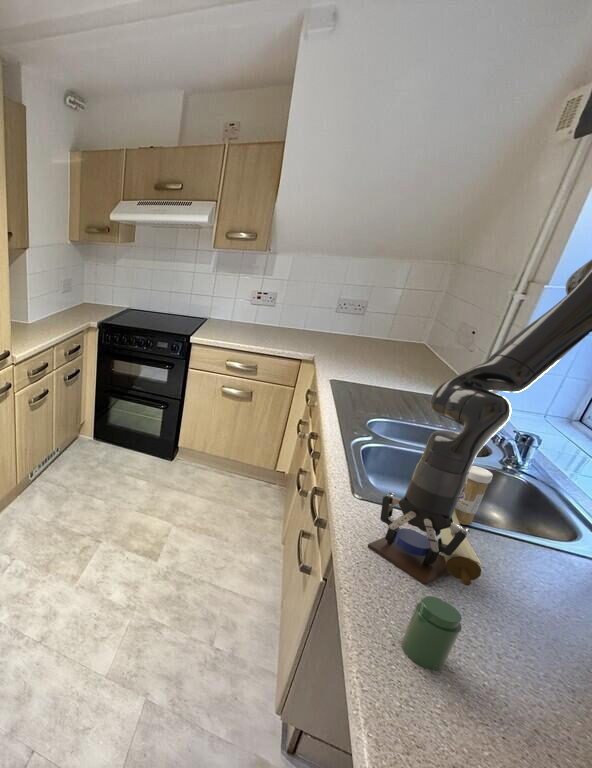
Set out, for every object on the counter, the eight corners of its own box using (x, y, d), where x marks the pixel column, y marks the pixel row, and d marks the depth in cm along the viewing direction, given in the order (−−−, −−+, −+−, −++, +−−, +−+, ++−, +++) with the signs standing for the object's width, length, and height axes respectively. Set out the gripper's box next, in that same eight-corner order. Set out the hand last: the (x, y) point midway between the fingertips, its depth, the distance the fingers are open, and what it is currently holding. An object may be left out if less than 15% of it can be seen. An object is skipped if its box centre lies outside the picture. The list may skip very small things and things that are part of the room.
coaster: (399, 533, 92) (400, 530, 92) (457, 568, 83) (458, 565, 82) (367, 546, 88) (368, 543, 88) (424, 585, 78) (426, 582, 78)
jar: (412, 632, 69) (430, 589, 66) (450, 661, 64) (472, 616, 61) (393, 645, 67) (411, 601, 63) (432, 676, 62) (453, 630, 59)
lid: (388, 541, 85) (391, 534, 85) (400, 531, 88) (403, 524, 88) (422, 560, 81) (425, 552, 80) (433, 548, 84) (437, 541, 83)
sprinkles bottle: (441, 514, 98) (461, 466, 94) (455, 512, 100) (475, 463, 95) (462, 527, 94) (483, 477, 90) (477, 524, 95) (499, 474, 91)
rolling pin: (417, 497, 103) (423, 480, 102) (445, 505, 101) (452, 488, 99) (444, 586, 77) (453, 565, 75) (483, 599, 75) (494, 578, 73)
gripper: (385, 471, 83) (362, 538, 89) (478, 511, 72) (444, 584, 78) (401, 461, 87) (377, 525, 93) (491, 497, 76) (458, 568, 82)
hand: (408, 552), depth 85 cm, fingers closed on lid, 5 cm apart
